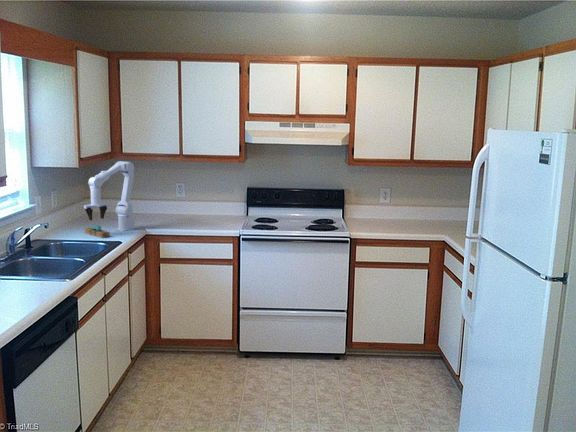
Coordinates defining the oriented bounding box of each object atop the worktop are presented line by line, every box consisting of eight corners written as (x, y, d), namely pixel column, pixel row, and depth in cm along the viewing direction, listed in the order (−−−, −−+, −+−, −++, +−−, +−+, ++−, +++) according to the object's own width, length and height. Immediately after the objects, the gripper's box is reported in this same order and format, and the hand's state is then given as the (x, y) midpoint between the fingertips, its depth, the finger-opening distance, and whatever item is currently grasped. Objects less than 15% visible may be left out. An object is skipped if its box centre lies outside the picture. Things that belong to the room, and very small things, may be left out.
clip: (92, 234, 320) (92, 224, 319) (95, 233, 321) (95, 224, 320) (98, 236, 316) (98, 226, 315) (101, 235, 317) (101, 225, 316)
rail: (91, 231, 326) (91, 227, 326) (109, 236, 314) (109, 232, 314) (84, 233, 323) (84, 228, 322) (102, 238, 310) (102, 233, 310)
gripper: (88, 198, 306) (88, 221, 309) (110, 196, 318) (110, 218, 320) (81, 197, 311) (82, 219, 313) (103, 195, 322) (104, 217, 324)
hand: (96, 219), depth 317 cm, fingers open, 7 cm apart
